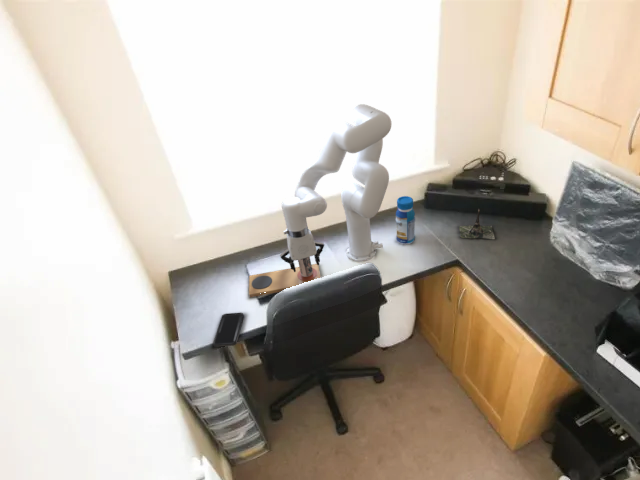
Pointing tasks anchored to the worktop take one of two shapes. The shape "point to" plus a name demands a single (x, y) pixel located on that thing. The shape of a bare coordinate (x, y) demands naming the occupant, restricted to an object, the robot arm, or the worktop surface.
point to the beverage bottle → (405, 220)
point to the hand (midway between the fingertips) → (305, 266)
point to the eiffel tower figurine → (476, 230)
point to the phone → (228, 329)
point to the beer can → (305, 267)
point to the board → (279, 280)
